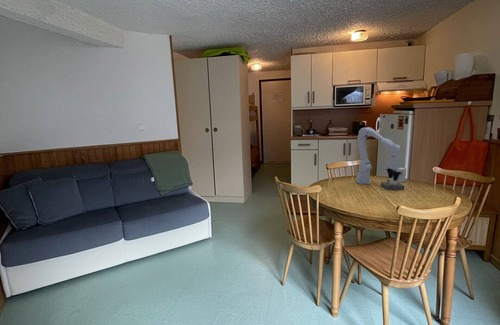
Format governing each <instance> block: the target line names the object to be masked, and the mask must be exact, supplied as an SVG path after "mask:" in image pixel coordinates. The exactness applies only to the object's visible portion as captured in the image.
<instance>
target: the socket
mask: <svg viewBox="0 0 500 325" xmlns="http://www.w3.org/2000/svg"><path fill="white" fill-rule="evenodd" d="M380 187H381V188H383V189H385V190H387V191H401V190H402V191H404V190H405V185H404V184H402V183H401V182H397V185H389V181H381V182H380Z"/></svg>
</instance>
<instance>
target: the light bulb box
mask: <svg viewBox="0 0 500 325" xmlns="http://www.w3.org/2000/svg"><path fill="white" fill-rule="evenodd" d="M399 169H400V172H401V173H400V175H399V176H398V179H397V182H398V183H404V182H406V176H407V168H405V167H400V168H399ZM392 178H393V177H392Z"/></svg>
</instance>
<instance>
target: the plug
mask: <svg viewBox="0 0 500 325" xmlns="http://www.w3.org/2000/svg"><path fill="white" fill-rule="evenodd" d="M386 182H389V185H397V181H393V178H389V177H388V179H387V180H386Z"/></svg>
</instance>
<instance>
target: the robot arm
mask: <svg viewBox="0 0 500 325" xmlns="http://www.w3.org/2000/svg"><path fill="white" fill-rule="evenodd" d="M368 137H373V138H375V139H377V140H378V141H379V142H380V143H381V145H382V146H384V148H386V149H387V150H388V151H389V153H390V154H389V155H390V156H389V164H388V165H387V168H386V172H387V175H388V179H389V178H392V177H393V181H397V179H398V176H399V175H400V173H401V172H400V169H399V168H401V167H399V161H400V152H401V150H402V148H401V146H400V144H397V143H395V142H393V141H392V140H391V139H390V138H385V137H384V136H382V135H381V134H380V133H379V132H378V131H376V130H375V129H374V128H372V127H370V126H367V127H362V128H360V129H359V130H358V135H357V138H356V139H357V145H358V151H359V152H358V153H359V158H360V161H359V163H358V170H359V171H356V181H355V182H356V183H357V184H359V185H361V184H362V185H363V184H364V185H365V184H366V185H368V184H369V185H370V184H372V182H371V181H370V179H371V170H372V168H373V166H372V164H371V161H370V160H369V157H368V150H367V146H366V139H367V138H368Z"/></svg>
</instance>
